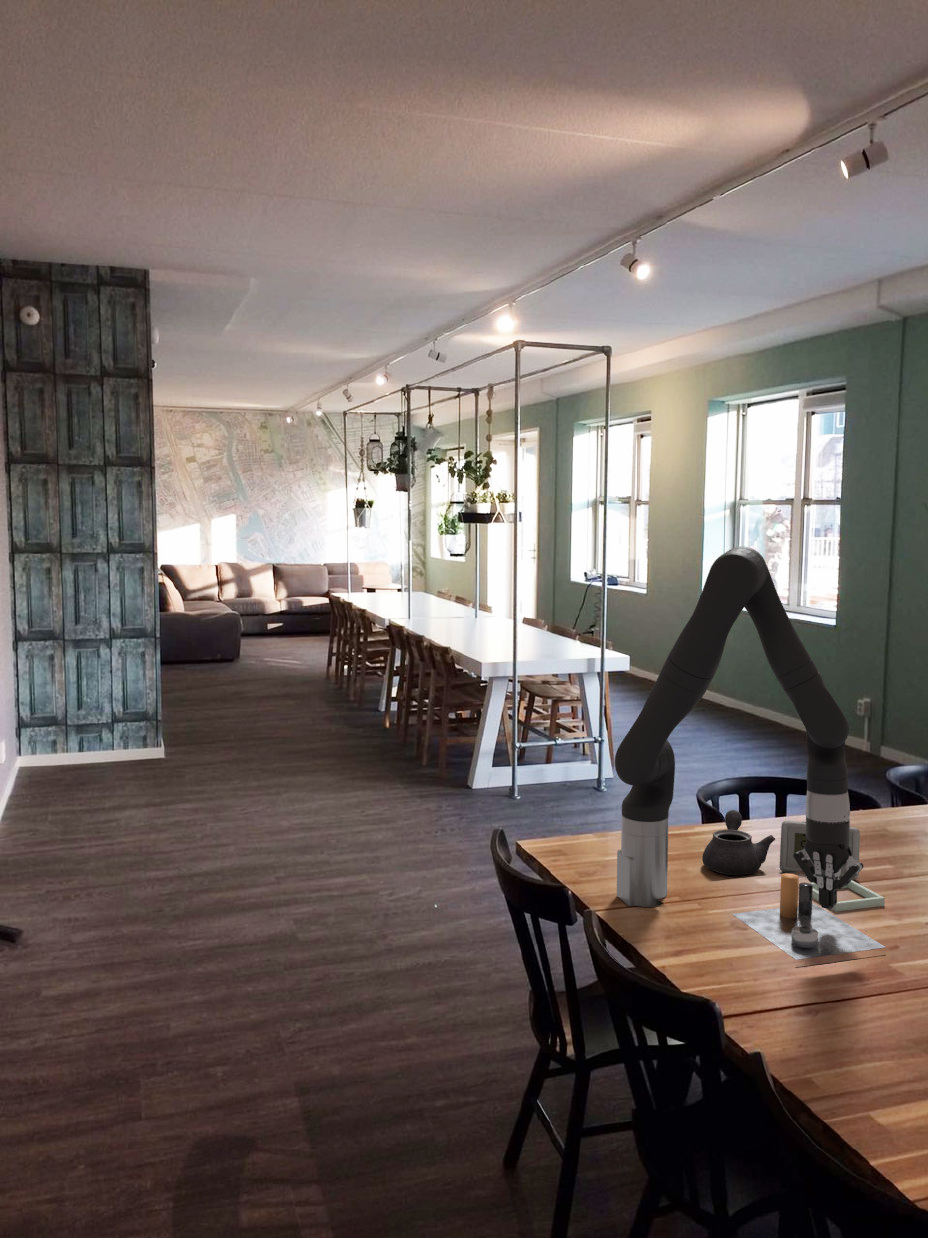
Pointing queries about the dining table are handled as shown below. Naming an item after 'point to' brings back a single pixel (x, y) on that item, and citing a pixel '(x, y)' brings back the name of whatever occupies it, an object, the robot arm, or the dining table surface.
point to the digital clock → (795, 841)
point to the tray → (869, 900)
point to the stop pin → (789, 895)
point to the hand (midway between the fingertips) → (828, 907)
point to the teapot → (735, 849)
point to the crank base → (830, 928)
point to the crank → (805, 919)
